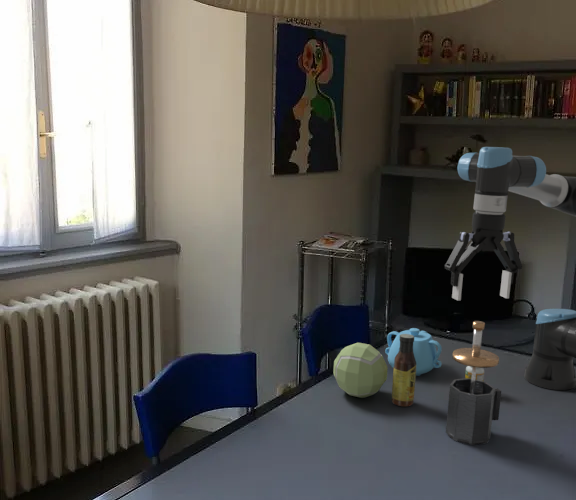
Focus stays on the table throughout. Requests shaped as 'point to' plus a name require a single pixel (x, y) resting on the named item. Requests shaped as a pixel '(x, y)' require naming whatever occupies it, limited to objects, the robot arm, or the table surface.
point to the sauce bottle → (404, 373)
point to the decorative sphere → (360, 370)
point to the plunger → (476, 354)
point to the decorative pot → (416, 350)
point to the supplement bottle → (478, 373)
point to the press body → (472, 411)
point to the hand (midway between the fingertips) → (480, 298)
